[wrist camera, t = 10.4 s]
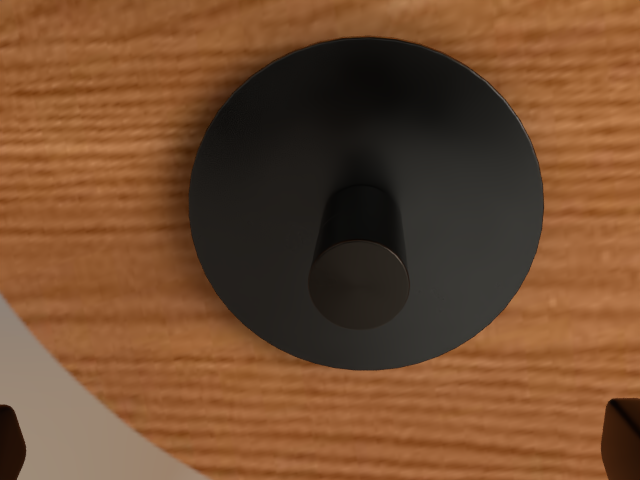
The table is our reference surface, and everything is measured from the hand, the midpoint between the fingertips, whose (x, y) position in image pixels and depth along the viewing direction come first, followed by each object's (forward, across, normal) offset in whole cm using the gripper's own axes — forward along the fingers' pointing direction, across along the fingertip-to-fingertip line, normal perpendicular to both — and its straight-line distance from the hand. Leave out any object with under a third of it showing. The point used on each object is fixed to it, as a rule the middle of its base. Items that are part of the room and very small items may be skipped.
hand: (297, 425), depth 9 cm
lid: (+10, -1, 0) cm, 10 cm away
